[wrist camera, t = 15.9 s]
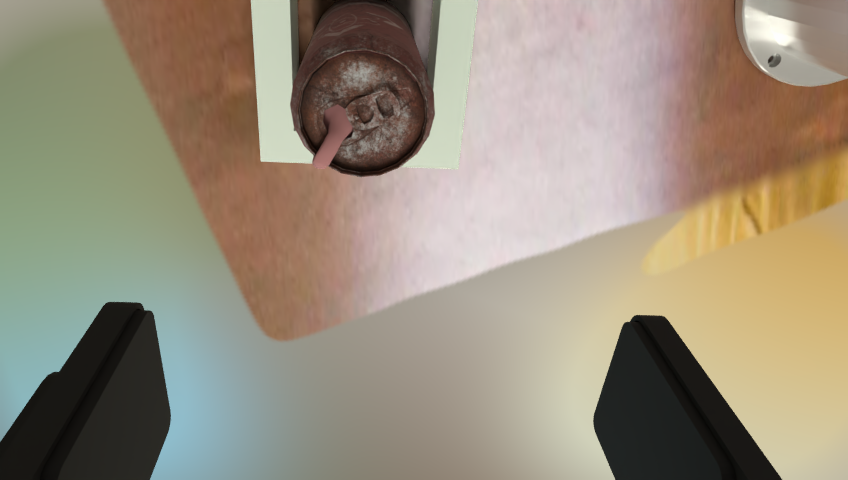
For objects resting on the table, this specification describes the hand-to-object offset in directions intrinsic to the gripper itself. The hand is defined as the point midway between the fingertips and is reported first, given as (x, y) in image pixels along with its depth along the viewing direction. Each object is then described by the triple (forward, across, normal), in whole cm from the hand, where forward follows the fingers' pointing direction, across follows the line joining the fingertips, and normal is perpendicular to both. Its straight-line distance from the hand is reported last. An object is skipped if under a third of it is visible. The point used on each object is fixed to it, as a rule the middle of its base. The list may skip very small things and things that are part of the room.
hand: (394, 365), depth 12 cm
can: (+29, +1, 0) cm, 29 cm away
